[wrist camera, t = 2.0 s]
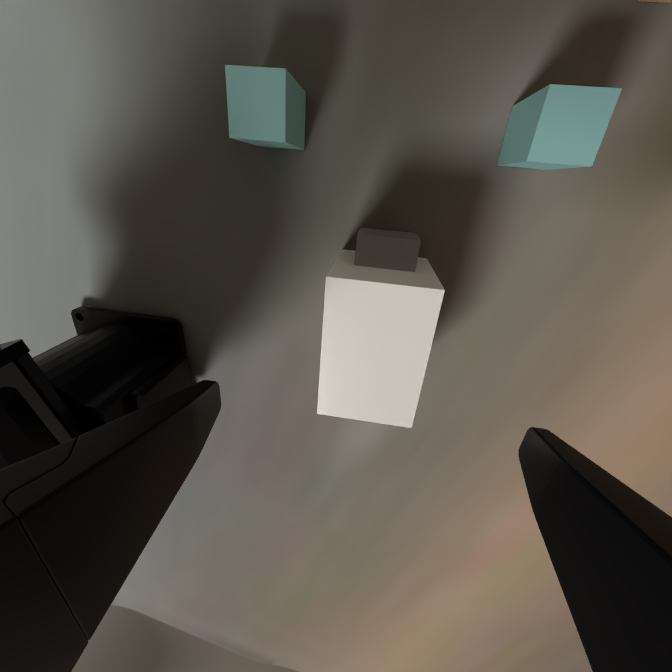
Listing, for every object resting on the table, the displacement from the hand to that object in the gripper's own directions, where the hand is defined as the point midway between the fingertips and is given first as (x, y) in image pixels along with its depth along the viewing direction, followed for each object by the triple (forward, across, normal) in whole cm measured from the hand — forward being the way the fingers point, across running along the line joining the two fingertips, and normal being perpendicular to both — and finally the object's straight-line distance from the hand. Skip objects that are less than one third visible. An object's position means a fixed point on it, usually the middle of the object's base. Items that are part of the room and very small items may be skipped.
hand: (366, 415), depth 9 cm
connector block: (+8, 0, 0) cm, 8 cm away
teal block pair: (+8, 0, -8) cm, 11 cm away
